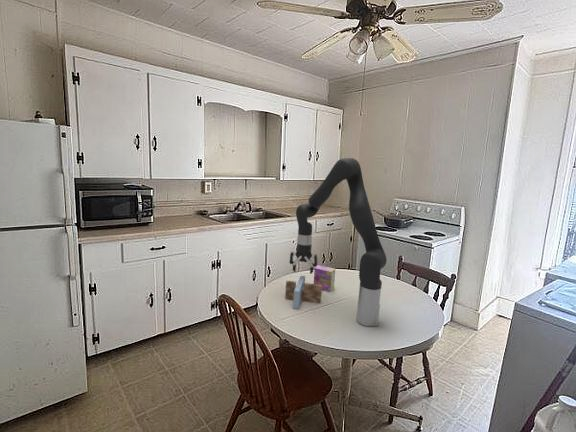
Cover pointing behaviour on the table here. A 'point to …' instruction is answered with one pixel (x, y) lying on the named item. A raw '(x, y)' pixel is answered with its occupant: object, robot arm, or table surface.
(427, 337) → the table surface
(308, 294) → the slotted board
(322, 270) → the box
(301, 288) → the notched plate
